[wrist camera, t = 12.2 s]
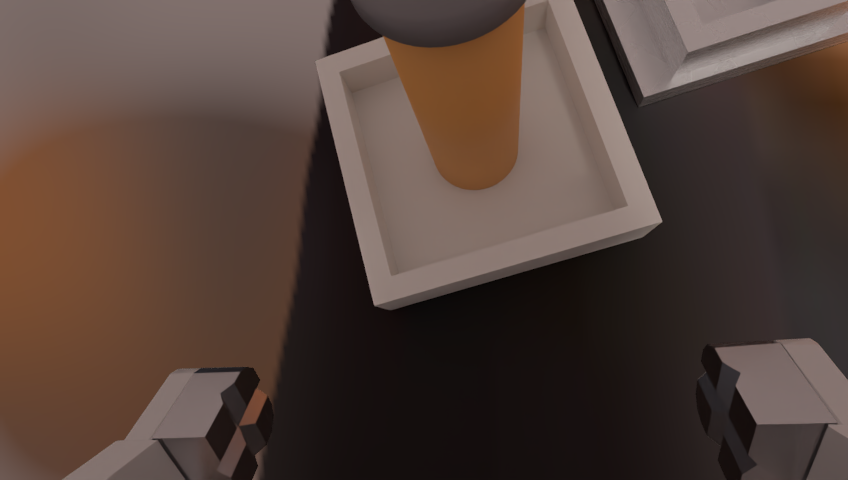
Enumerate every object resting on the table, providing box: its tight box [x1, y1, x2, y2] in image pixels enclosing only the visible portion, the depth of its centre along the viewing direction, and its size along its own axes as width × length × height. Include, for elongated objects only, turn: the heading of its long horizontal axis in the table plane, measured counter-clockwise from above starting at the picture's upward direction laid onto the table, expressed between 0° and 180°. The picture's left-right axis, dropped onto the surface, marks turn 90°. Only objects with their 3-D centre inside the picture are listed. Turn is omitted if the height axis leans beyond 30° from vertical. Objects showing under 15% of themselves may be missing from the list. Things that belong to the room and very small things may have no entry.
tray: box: [315, 0, 662, 310], centre depth 23 cm, size 12×12×3 cm
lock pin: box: [351, 0, 526, 190], centre depth 17 cm, size 5×5×13 cm
